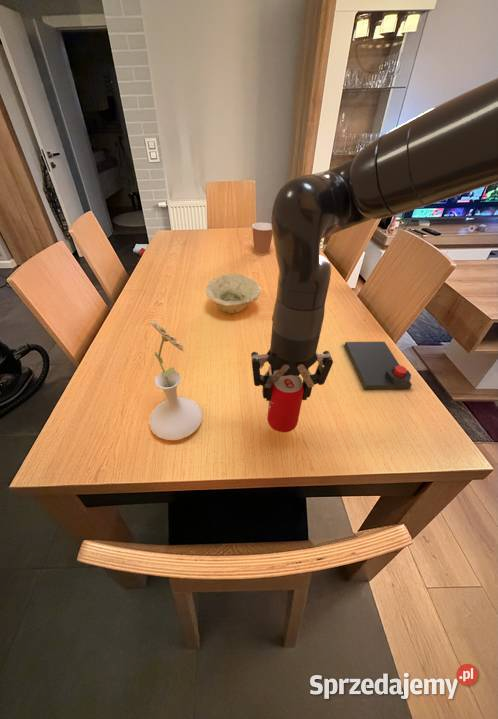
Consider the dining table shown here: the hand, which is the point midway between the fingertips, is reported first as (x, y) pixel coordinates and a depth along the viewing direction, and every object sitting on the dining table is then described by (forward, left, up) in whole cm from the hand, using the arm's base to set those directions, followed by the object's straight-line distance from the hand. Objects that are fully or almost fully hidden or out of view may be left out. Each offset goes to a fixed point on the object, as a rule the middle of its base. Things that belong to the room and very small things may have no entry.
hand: (285, 397), depth 57 cm
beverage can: (0, 0, -8) cm, 8 cm away
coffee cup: (+60, -85, -13) cm, 105 cm away
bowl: (+40, -36, -13) cm, 56 cm away
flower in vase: (+21, +10, -13) cm, 27 cm away
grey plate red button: (-10, -36, -13) cm, 39 cm away
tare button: (-16, -33, -10) cm, 38 cm away
